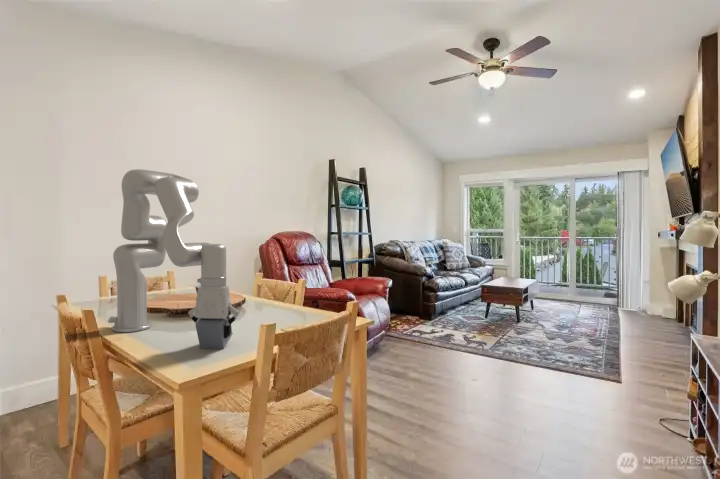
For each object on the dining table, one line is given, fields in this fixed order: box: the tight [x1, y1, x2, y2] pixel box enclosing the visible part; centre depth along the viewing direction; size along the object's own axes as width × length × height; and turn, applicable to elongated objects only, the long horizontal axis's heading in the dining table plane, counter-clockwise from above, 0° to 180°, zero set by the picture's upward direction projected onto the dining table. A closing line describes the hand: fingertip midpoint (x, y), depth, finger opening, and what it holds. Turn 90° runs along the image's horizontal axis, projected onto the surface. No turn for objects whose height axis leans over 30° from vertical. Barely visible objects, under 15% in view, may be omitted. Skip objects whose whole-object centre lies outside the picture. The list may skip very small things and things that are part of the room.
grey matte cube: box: [195, 314, 233, 350], centre depth 123 cm, size 8×8×9 cm
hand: (214, 336), depth 123 cm, fingers closed on grey matte cube, 7 cm apart
